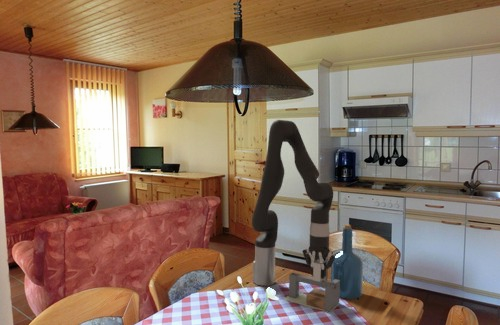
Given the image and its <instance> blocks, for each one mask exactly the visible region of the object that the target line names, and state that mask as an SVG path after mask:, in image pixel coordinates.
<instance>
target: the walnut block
mask: <svg viewBox="0 0 500 325" xmlns="http://www.w3.org/2000/svg"><path fill="white" fill-rule="evenodd" d="M306 295H307V297H306V305H309V306H313V307H316V308H320V309H323V310H325V290H324V289H321V288H316V287H315V288H313V289H312V290H310V291H309V292H308V293H306Z"/></svg>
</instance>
